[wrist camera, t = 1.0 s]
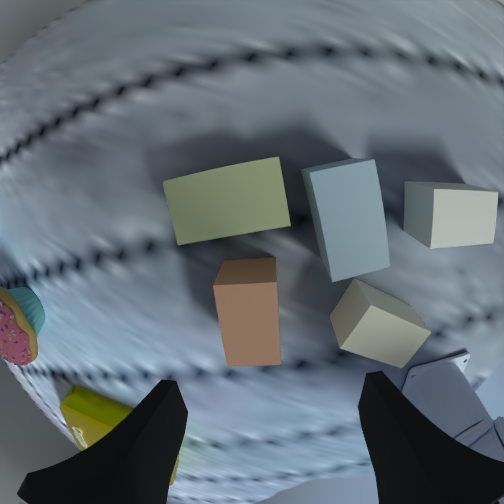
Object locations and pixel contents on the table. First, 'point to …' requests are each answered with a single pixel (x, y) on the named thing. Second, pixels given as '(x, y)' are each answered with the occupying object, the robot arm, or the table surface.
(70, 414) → the element tile
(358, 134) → the table surface
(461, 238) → the grey brick
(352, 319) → the cream brick
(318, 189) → the blue brick
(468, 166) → the table surface
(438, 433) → the robot arm
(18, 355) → the cupcake
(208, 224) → the olive brick
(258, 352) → the terracotta brick
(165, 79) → the table surface
